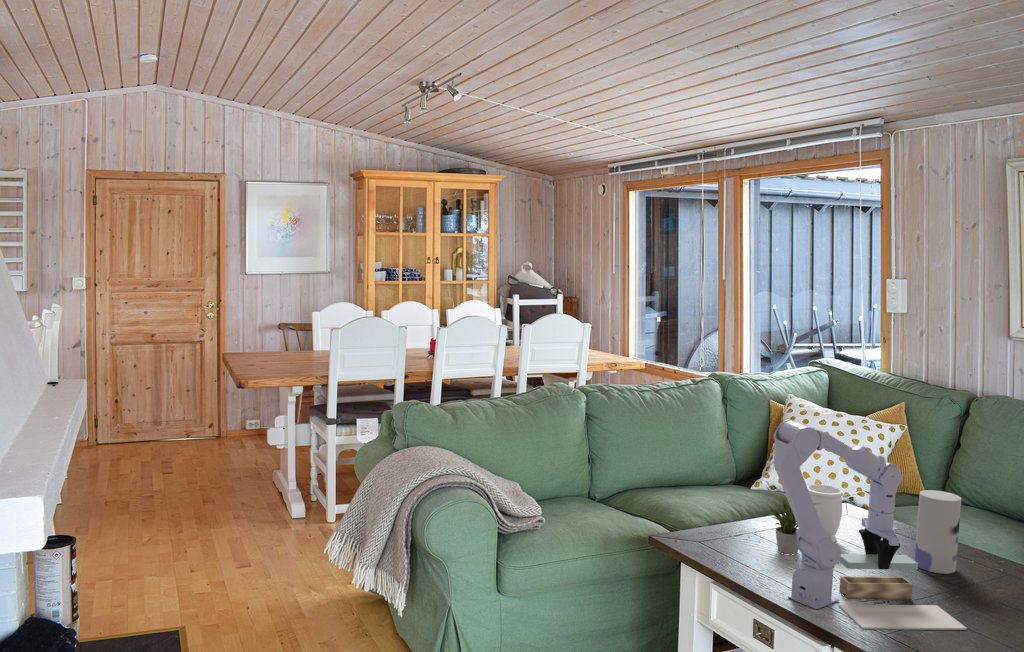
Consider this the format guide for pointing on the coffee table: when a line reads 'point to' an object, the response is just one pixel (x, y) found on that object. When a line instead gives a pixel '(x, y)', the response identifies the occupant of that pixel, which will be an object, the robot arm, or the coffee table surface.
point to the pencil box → (876, 588)
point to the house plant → (785, 529)
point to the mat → (901, 617)
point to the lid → (872, 562)
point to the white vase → (827, 506)
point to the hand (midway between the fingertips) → (877, 564)
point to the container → (937, 531)
